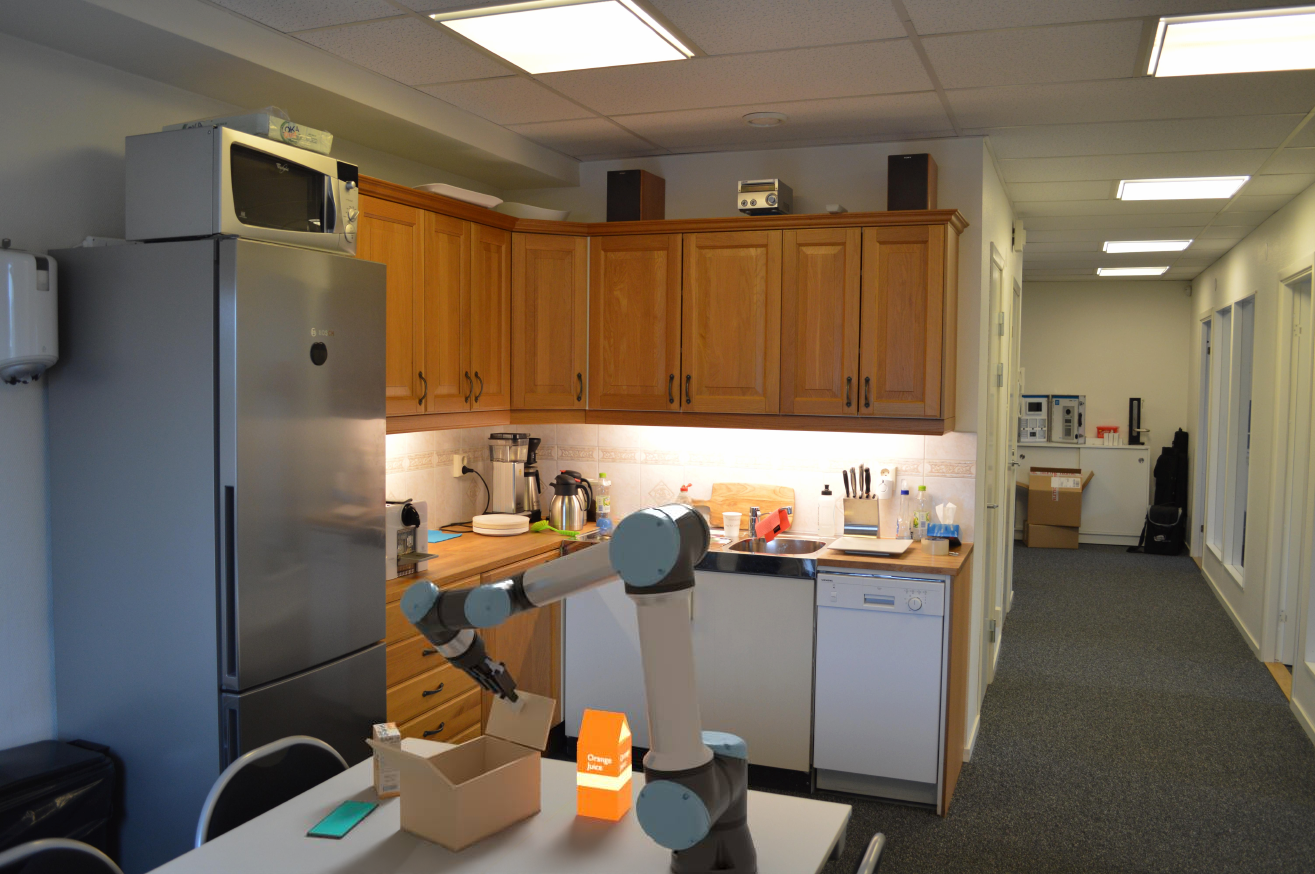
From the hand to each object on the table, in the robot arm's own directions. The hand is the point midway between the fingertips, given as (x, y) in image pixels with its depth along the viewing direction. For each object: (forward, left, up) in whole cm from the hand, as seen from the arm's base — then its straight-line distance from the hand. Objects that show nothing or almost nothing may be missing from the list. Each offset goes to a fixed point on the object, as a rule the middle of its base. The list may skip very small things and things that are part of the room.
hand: (519, 707), depth 193 cm
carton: (0, +13, -19) cm, 23 cm away
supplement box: (+25, +14, -19) cm, 34 cm away
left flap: (0, +28, -3) cm, 28 cm away
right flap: (0, 0, -2) cm, 2 cm away
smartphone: (+20, +28, -19) cm, 40 cm away
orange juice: (-18, -6, -19) cm, 27 cm away
